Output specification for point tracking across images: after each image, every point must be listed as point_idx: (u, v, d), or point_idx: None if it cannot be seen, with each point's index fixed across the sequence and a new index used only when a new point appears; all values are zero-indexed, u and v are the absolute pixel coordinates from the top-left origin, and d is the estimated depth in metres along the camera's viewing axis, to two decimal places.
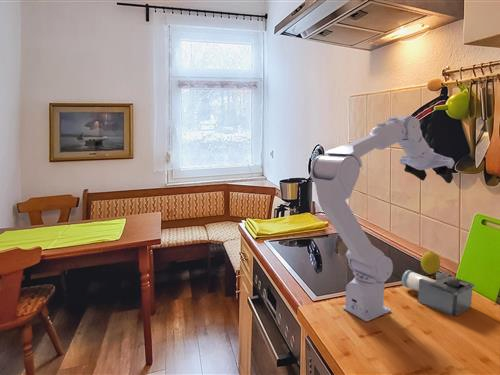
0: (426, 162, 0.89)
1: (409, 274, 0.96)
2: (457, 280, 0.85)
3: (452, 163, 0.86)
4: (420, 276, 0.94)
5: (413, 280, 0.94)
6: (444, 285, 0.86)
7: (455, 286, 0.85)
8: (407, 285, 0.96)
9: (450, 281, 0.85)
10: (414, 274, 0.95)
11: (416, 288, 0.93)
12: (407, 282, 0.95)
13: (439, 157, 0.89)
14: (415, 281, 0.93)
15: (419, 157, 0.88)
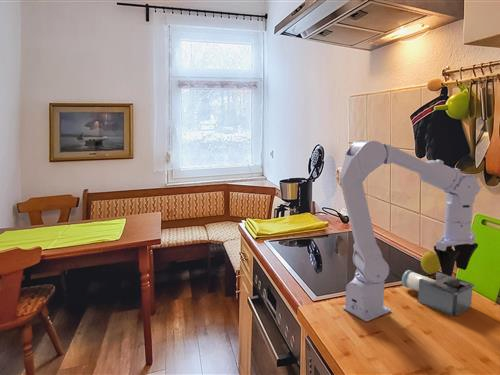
0: (445, 232, 0.85)
1: (409, 274, 0.96)
2: (457, 280, 0.85)
3: (440, 247, 0.81)
4: (420, 276, 0.94)
5: (413, 280, 0.94)
6: (444, 285, 0.86)
7: (455, 286, 0.85)
8: (407, 285, 0.96)
9: (450, 281, 0.85)
10: (414, 274, 0.95)
11: (416, 288, 0.93)
12: (407, 282, 0.95)
13: None
14: (415, 281, 0.93)
15: None
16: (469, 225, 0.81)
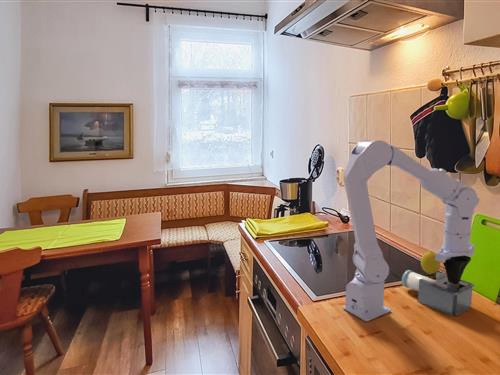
0: (444, 243, 0.85)
1: (409, 274, 0.96)
2: None
3: (439, 258, 0.81)
4: (420, 276, 0.94)
5: (413, 280, 0.94)
6: (444, 285, 0.86)
7: None
8: (407, 285, 0.96)
9: (450, 284, 0.86)
10: (414, 274, 0.95)
11: (416, 288, 0.93)
12: (407, 282, 0.95)
13: None
14: (415, 281, 0.93)
15: (444, 232, 0.85)
16: (468, 237, 0.82)
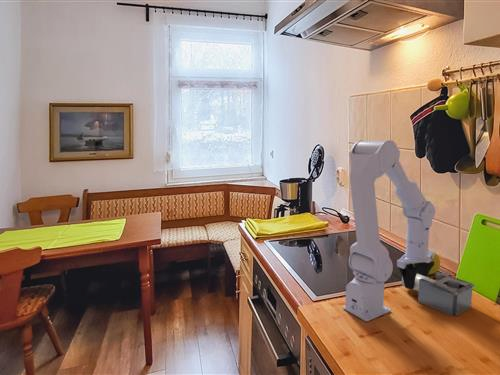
0: (406, 251, 0.95)
1: None
2: (457, 283, 0.86)
3: (400, 265, 0.91)
4: (420, 276, 0.94)
5: None
6: (444, 285, 0.86)
7: None
8: None
9: (450, 285, 0.86)
10: None
11: (416, 288, 0.93)
12: None
13: (412, 261, 0.92)
14: (415, 281, 0.93)
15: (406, 241, 0.95)
16: (426, 245, 0.92)
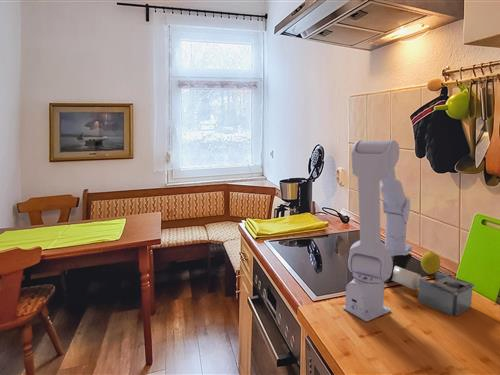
0: (385, 244, 1.01)
1: None
2: (457, 283, 0.86)
3: None
4: (398, 268, 1.00)
5: None
6: (444, 285, 0.86)
7: None
8: None
9: (450, 285, 0.86)
10: None
11: (394, 279, 0.99)
12: None
13: (390, 254, 0.98)
14: (394, 273, 0.99)
15: (385, 235, 1.01)
16: (403, 239, 0.98)
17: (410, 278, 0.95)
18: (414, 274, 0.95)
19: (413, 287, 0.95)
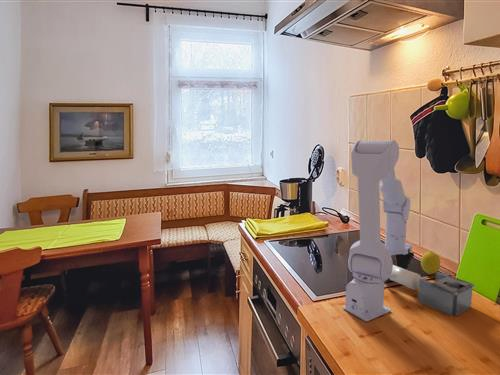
0: (385, 243, 1.01)
1: None
2: (457, 283, 0.86)
3: None
4: (398, 268, 1.00)
5: None
6: (444, 285, 0.86)
7: None
8: None
9: (450, 285, 0.86)
10: (393, 266, 1.01)
11: (394, 279, 0.99)
12: None
13: (390, 253, 0.98)
14: (393, 273, 0.99)
15: (385, 234, 1.01)
16: (403, 238, 0.98)
17: (410, 278, 0.95)
18: (414, 274, 0.95)
19: (413, 287, 0.95)
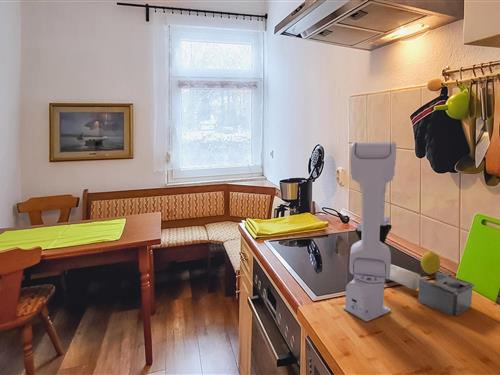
0: None
1: None
2: (457, 283, 0.86)
3: (360, 228, 0.98)
4: (398, 268, 1.00)
5: (391, 271, 1.00)
6: (444, 285, 0.86)
7: None
8: None
9: (450, 285, 0.86)
10: (393, 266, 1.01)
11: (394, 279, 0.99)
12: None
13: None
14: (393, 273, 0.99)
15: None
16: (382, 210, 1.00)
17: (410, 278, 0.95)
18: (414, 274, 0.95)
19: (413, 287, 0.95)
